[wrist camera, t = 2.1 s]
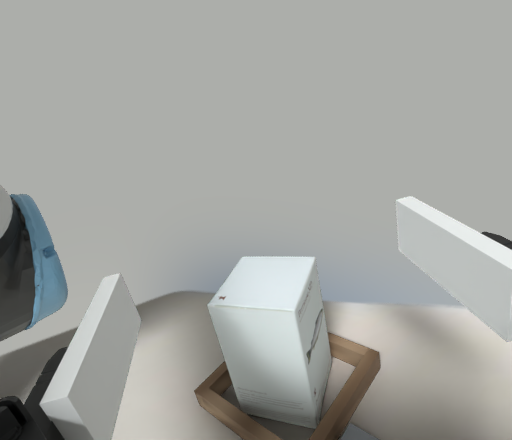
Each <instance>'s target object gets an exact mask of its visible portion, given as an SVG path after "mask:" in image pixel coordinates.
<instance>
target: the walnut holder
mask: <svg viewBox="0 0 512 440" xmlns="http://www.w3.org/2000/svg"><path fill="white" fill-rule="evenodd" d="M327 333H328V332H327ZM328 339H329V346H330V353H331V356H333V357H335V358H338V359H340V360H342V361H344V362H347V363H349V364H351V365H353V366H356V368H355V370H354V371H353V373H352V374H351V376H350V377H349V379H348V380H347V382H346V383H345V385H344V387H343V388H342V390H341V391H340V393H339V394H338V396H337V397H336V399H335V400H334V402H333V403H332V405H331V406H330V408H329V409H328V411H327V412H326V414H325V415H324V417H323V418H322V420H321V421H320V423H319V425H318V426H317V428H316V429H315V431H314V432H313V434H312V435H311V437H310V438H309V440H338V438H339V437H340V435H341V433H342V432H343V430H344V428H345V427H346V425H347V423H348V422H349V420H350V418H351V416H352V415H353V413H354V411H355V410H356V408H357V406H358V405H359V403H360V401H361V400H362V398H363V396H364V395H365V393H366V391H367V390H368V388H369V386H370V384H371V383H372V381H373V379H374V378H375V376H376V374H377V373H378V371H379V369H380V359H379V352H377V351H374V350H372V349H369V348H367V347H364V346H362V345H359V344H356V343H354V342H351V341H349V340H346V339H344V338H341V337H339V336H336V335H334V334H331V333H328ZM231 384H232V380H231V377H230V374H229V371H228V368H227V365H226V362H225V361H224V362H223V363H222V364H221V365H220V366H219V367H218V368H217V369H216V370H215V371H214V372H213V373H212V374H211V375H210V376H209V377H208V378H207V379H206V380H205V381H204V382H203V383H202V384H201V385H200V386H199V387H198V388H197V389H196V390H195V391H194V392H195V394H196V397H197V399H198V402H199V404H200V406H201V407H203V408H204V409H205V410H207V411H208V412H209V413H210V414H212V415H213V416H214V417H216V418H217V419H218V420H219V421H221V422H222V423H223V424H225V425H226V426H227V427H228V428H230V429H231V430H232V431H233V432H235V433H236V434H237V435H239V436H240V437H241V438H242V439H244V440H282V439H281V438H279V437H278V436H276V435H275V434H273V433H272V432H271V431H269V430H268V429H266V428H265V427H264V426H262V425H261V424H259V423H258V422H256V421H255V420H254V419H252V418H251V417H249V416H248V415H246V414H245V413H244V412H242V411H241V410H239V409H238V408H237V407H235V406H234V405H232V404H231V403H229V402H228V401H227V400H225V399H224V398H222V397H221V395H222V394H223V393H224V392H225V390H226V389H227V388H228V387H229V386H230V385H231Z"/></svg>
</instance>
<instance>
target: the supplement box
mask: <svg viewBox="0 0 512 440" xmlns="http://www.w3.org/2000/svg"><path fill="white" fill-rule="evenodd" d="M207 307H208V310H209V313H210V316H211V319H212V322H213V325H214V328H215V331H216V334H217V337H218V341H219V344H220V347H221V350H222V353H223V356H224V359H225V362H226V365H227V368H228V371H229V374H230V377H231V380H232V383H233V387H234V390H235V393H236V396H237V399H238V402H239V405H240V408H241V411H242V412H244V413H245V414H250V415H254V416H258V417H263V418H267V419H272V420H276V421H281V422H285V423H290V424H294V425H299V426H303V427H308V428H314V429H316V428H317V426H318V425H319V420H320V414H321V408H322V403H323V398H324V393H325V389H326V384H327V380H328V376H329V372H330V368H331V364H332V359H331V353H330V346H329V339H328V333H327V326H326V320H325V314H324V307H323V301H322V296H321V290H320V284H319V278H318V271H317V265H316V258H315V257H283V256H277V257H276V256H274V257H273V256H271V257H248V256H247V257H246V256H243V257H242V258H241V259H240V260H239V262H238V263H237V265H236V266H235V267H234V269H233V270H232V272H231V273H230V274H229V276H228V277H227V278H226V280H225V281H224V283H223V284H222V286H221V287H220V288H219V290H218V291H217V292H216V294H215V295H214V297H213V298H212V299H211V301H210V302H209V303H208V305H207Z"/></svg>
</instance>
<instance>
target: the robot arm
mask: <svg viewBox="0 0 512 440" xmlns="http://www.w3.org/2000/svg"><path fill="white" fill-rule="evenodd" d="M396 214H397V231H398V249H399V251H400V252H401V253H402V254H403V255H405V256H406V257H407V258H408V259H409V260H410V261H412V262H413V263H414V264H415V265H417V266H418V267H419V268H420V269H421V270H422V271H424V272H425V273H426V274H427V275H428V276H429V277H431V278H432V279H433V280H434V281H435V282H436V283H438V284H439V285H440V286H441V287H442V288H444V289H445V290H446V291H447V292H448V293H449V294H451V295H452V296H453V297H454V298H455V299H457V300H458V301H459V302H460V303H461V304H463V305H464V306H465V307H466V308H467V309H468V310H470V311H471V312H472V313H473V314H474V315H476V316H477V317H478V318H479V319H480V320H481V321H483V322H484V323H485V324H486V325H487V326H489V327H490V328H491V329H492V330H493V331H494V332H496V333H497V334H498V335H499V336H500V337H502V338H503V339H504V340H505V341H506V342H509V341H512V241H510V240H508V239H506V238H504V237H502V236H500V235H496V234H492V233H488V232H482V233H479V232H477V231H475V230H474V229H472V228H470V227H468V226H466V225H464V224H462V223H460V222H458V221H457V220H455V219H453V218H451V217H449V216H447V215H446V214H444V213H442V212H440V211H438V210H436V209H434V208H432V207H431V206H428V205H427V204H425V203H423V202H421V201H419V200H417V199H416V198H414V197H412V196H409V197H405V198H401V199H398V200H396ZM67 295H68V289H67V283H66V279H65V275H64V272H63V269H62V266H61V263H60V260H59V257H58V255H57V253H56V251H55V250H54V245H53V242H52V239H51V236H50V233H49V231H48V228H47V226H46V224H45V221H44V219H43V217H42V215H41V213H40V211H39V209H38V207H37V205H36V204H35V202H34V200H33V199H32V198H31V197H30V196H29V195H26V194H20V195H15V194H11V195H9V194H8V193H7V191H6V190H5V189H4V188H3V187H2V186H1V185H0V341H2V340H4V339H7V338H8V337H11V336H13V335H15V334H17V333H19V332H21V331H23V330H27V329H29V328H31V327H33V326H34V325H35V324H36V322H38V321H40V320H42V319H43V318H45V317H47V316H49V315H51V314H53V313H54V312H56V311H58V310H59V309H60V308H61V307H62V306H63V305H64V303H65V302H66V299H67ZM141 321H142V320H141V318H140V316H139V314H138V311H137V309H136V307H135V304H134V302H133V300H132V298H131V295H130V293H129V291H128V289H127V286H126V284H125V282H124V280H123V277H122V275H121V273H118V274H114V275H111V276H106V277H104V278H103V280H102V282H101V284H100V286H99V288H98V290H97V292H96V293H95V296H94V298H93V300H92V301H91V303H90V305H89V307H88V309H87V311H86V313H85V315H84V317H83V319H82V321H81V323H80V325H79V327H78V329H77V331H76V333H75V335H74V337H73V339H72V341H71V343H70V345H69V347H65V348H62V349H59V350H58V351H57V352H56V353H55V354H54V355H53V356H52V357H51V359H50V360H49V361H48V362H47V364H46V366H45V367H44V369H43V371H42V373H41V374H42V375H41V376H40V377H39V378H38V380H37V382H36V385H35V386H34V387H33V389H32V391H31V393H30V395H29V396H28V398H27V400H26V402H25V404H24V405H23V403H22V402H21V401H20V399H19V398H17V397H15V396H8V397H5V398H2V399H0V440H111V439H112V435H113V431H114V427H115V423H116V419H117V415H118V411H119V407H120V403H121V400H122V396H123V392H124V388H125V384H126V380H127V376H128V372H129V368H130V364H131V360H132V356H133V352H134V348H135V344H136V341H137V337H138V333H139V329H140V325H141Z"/></svg>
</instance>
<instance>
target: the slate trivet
mask: <svg viewBox="0 0 512 440" xmlns="http://www.w3.org/2000/svg"><path fill="white" fill-rule="evenodd" d="M340 440H379V439H378V438H376V437H374V436H372V435H371V434H369V433H367V432H365V431H364V430H362V429H360V428H358V427H357V426H355V425H353V424H351V423H350V424H349V425H348V427H347V429H346V430H345V432H344V434H343V435H342V437H341V439H340Z"/></svg>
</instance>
